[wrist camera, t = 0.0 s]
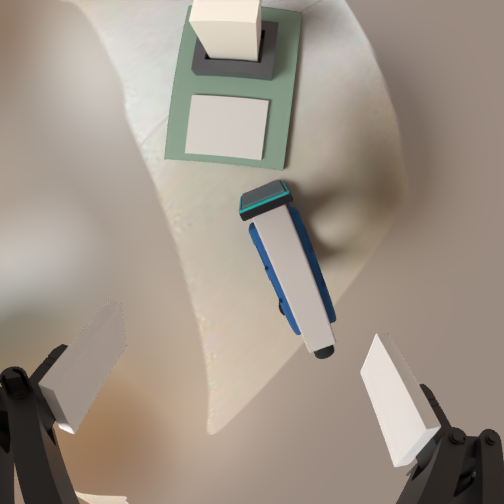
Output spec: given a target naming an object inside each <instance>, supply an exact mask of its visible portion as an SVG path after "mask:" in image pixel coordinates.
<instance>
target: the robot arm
mask: <svg viewBox="0 0 504 504" xmlns="http://www.w3.org/2000/svg"><path fill="white" fill-rule="evenodd" d="M126 346H127V345H126V338H125V330H124V322H123V314H122V304H121V303H118V302H113V301H108V302H107V303H106V304H105V305H104V306H103V307H102V309H101V310H100V311H99V312H98V313H97V314H96V315H95V316H94V317H93V319H92V320H91V321H90V322H89V323H88V324H87V325H86V326H85V328H84V329H83V330H82V331H81V332H80V333H79V335H78V336H77V337H76V338H75V339H74V340H73V342H72V343H71V344H70V345H69V346H67V345H64V344H62V345H60V346H58V347H57V348H55V349H54V350H53V351H52V352H51V353H50V354H49V355H48V358H46V359H45V360H44V361H43V363H42V364H41V365H40V366H39V367H38V368H37V369H36V371H35V372H34V373H33V374H32V375H31V377H30V378H28V376H27V374H26V372H25V371H24V370H23V369H22V368H20V367H9V368H7V369H5V370H4V371H3V372H2V373H1V374H0V383H1V385H2V387H0V504H15V502H14V462H15V467H16V471H17V476H18V480H19V484H20V488H21V492H22V495H23V499H24V502H25V504H80V503H79V501H78V499H77V496H76V494H75V491H74V489H73V486H72V484H71V481H70V478H69V476H68V473H67V470H66V467H65V464H64V461H63V458H62V455H61V452H60V448H59V445H58V441H57V438H56V434H55V430H54V428H53V424H54V422H55V421H57V423H58V425H59V427H60V428H61V429H63V430H65V431H68V432H70V433H73V434H75V433H76V431H77V429H78V428H79V426H80V424H81V422H82V420H83V419H84V417H85V415H86V413H87V411H88V410H89V408H90V406H91V404H92V403H93V401H94V399H95V397H96V396H97V394H98V392H99V391H100V389H101V387H102V385H103V384H104V382H105V380H106V379H107V377H108V375H109V374H110V372H111V370H112V369H113V367H114V365H115V364H116V362H117V360H118V359H119V357H120V355H121V354H122V352H123V351H124V349H125V347H126ZM360 373H361V375H362V378H363V380H364V383H365V386H366V388H367V391H368V394H369V396H370V399H371V401H372V404H373V407H374V410H375V412H376V415H377V418H378V421H379V424H380V426H381V429H382V432H383V435H384V438H385V441H386V443H387V446H388V449H389V452H390V455H391V458H392V461H393V464H394V467H398V466H403V465H407V464H410V462H411V461H412V460H413V459H414V458H415V457H416V459H417V461H418V463H417V464H416V465H415V466H414V467H413V468H412V469H411V470H410V471H409V472H408V473H407V474H406V475H407V476H408V475H409V474H410V473H411V475H410V477H409V479H408V481H407V483H406V485H405V487H404V489H403V491H402V493H401V495H400V497H399V499H398V501H397V503H396V504H504V461H503V452H502V444H501V439H500V436H499V435H498V433H497V432H495V431H494V430H491V429H486V430H484V431H482V433H481V434H480V435H479V436H478V437H474V436H473V437H472V436H466V434H465V433H464V432H463V431H462V430H461V429H459V428H455V427H451V425H450V423H449V421H448V420H447V418H446V416H445V414H444V412H443V410H442V409H441V407H440V406H439V403H438V402H437V400H435V397H434V395H433V393H432V391H431V390H430V389H429V388H428V387H427V386H426V385H424V384H420V385H419V384H418V382H417V380H416V379H415V377H414V375H413V373H412V372H411V370H410V368H409V367H408V365H407V363H406V361H405V360H404V359H403V357H402V355H401V353H400V351H399V350H398V348H397V346H396V345H395V343H394V342H393V340H392V338H391V337H390V335H389V334H388V333H376V335H375V338H374V340H373V343H372V345H371V348H370V350H369V353H368V355H367V358H366V360H365V362H364V365H363V367H362V369H361V372H360Z"/></svg>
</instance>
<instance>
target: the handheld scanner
mask: <svg viewBox="0 0 504 504" xmlns="http://www.w3.org/2000/svg"><path fill="white" fill-rule="evenodd" d="M292 201H293V199H292V196H291V194H290V192H289V190H288V188H287V187H286V185H285V184H284V182H283V181H282V180H280V181H279V180H276V181H273V182H271V183H269V184H266V185H264V186H261V187H259V188H256V189H254V190H252V191H249V192H247V193H244V194H243V195H242V196H241V198H240V207H239V214H240V216H241V218H242V220H243V221H246V220H248V219H251V218H252V220H253V223H251V224H250V226H249V233H250V235H251V238H252V240H253V243H254V245H255V246H256V248H257V250H258V252H259V255H260V257H261V259H262V262H263V264H264V266H265V271H266V273H267V275H268V277H269V280H271V282H272V285H273V287H274V289H275V291H276V294H277V296H278V298H279V310H280V312H281V313H282V314H283V315H285V316H286V318H287V320H288V322H289V324H290V326H291V328H292V329H293V331H294V332H295V333H296V334H297V335H300V334H302V337H303V339H304V341H305V344H306V346H307V349H308V351H309V352H313V351H314V354H315V356H316V357H317V358H319V359H325V358H328V357H330V356H331V355H332V354H333V353H334V346H333V344H335V343H336V340H335V337H334V334H333V331H332V328H331V325H330V323H332V322H335V321H336V315H335V311H334V308H333V305H332V301H331V298H330V295H329V292H328V290H327V287H326V284H325V281H324V278H323V276H322V273H321V270H320V267H319V264H318V262H317V258H316V256H315V253H314V250H313V248H312V245H311V242H310V240H309V237H308V235H307V232H306V229H305V227H304V224H303V221H302V219H301V217H300V214H299V212H298V210H297V208H296V207H291V206H290V204H289V203H290V202H292Z"/></svg>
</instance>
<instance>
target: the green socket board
mask: <svg viewBox="0 0 504 504" xmlns="http://www.w3.org/2000/svg"><path fill="white" fill-rule="evenodd" d="M191 9H192V5H191V6H189V7H188V11H187V15H186V20H185V24H184V29H183V34H182V39H181V44H180V49H179V54H178V59H177V65H176V71H175V77H174V83H173V90H172V97H171V104H170V111H169V119H168V128H167V137H166V147H165V157H164V159H171V160H187V161H200V162H212V163H223V164H233V165H242V166H251V167H259V168H267V169H275V170H282V171H283V167H284V159H285V152H286V144H287V136H288V129H289V121H290V113H291V105H292V96H293V88H294V80H295V71H296V62H297V53H298V44H299V35H300V26H301V16H302V12H296V11H289V10H282V9H274V8H264V7H261V45H260V53H259V60H258V63H256V62H245V61H231V60H211V59H210V57H209V55H208V54H207V52H206V50H205V48H204V46H203V45H202V43H201V41H200V39H199V38H198V36H197V34H196V32H195V31H194V29H193V27H192V26H191V24H190V22H189V18H190V14H191Z"/></svg>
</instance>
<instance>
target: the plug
mask: <svg viewBox="0 0 504 504" xmlns="http://www.w3.org/2000/svg"><path fill="white" fill-rule="evenodd" d="M189 22H190V24H191V26H192V27H193V29H194V31H195V32H196V34H197V36H198V38H199V39H200V41H201V43H202V45H203V46H204V48H205V50H206V52H207V54H208V55H209V57H210V59H211V60H231V61H245V62H256V63H258V60H259V53H260V45H261V0H194V1H193V5H192V9H191V14H190V18H189Z"/></svg>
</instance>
